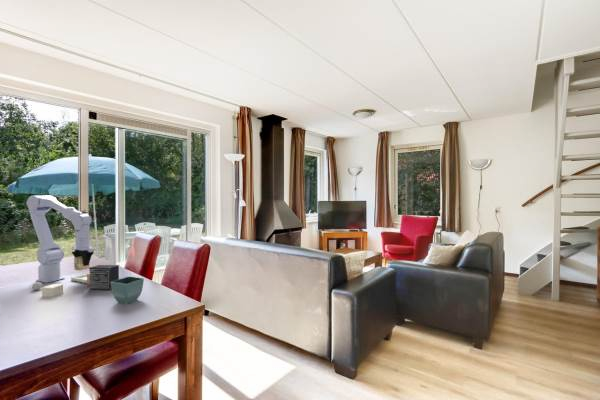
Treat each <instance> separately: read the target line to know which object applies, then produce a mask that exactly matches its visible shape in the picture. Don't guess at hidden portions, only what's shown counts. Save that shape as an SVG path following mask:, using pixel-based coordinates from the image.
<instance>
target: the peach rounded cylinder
mask: <svg viewBox="0 0 600 400" xmlns="http://www.w3.org/2000/svg"><path fill="white" fill-rule="evenodd" d="M88 273H89V274H87V273H86V274H87V284H86V285H87V286H90V272H88Z"/></svg>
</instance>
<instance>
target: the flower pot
mask: <svg viewBox="0 0 600 400" xmlns="http://www.w3.org/2000/svg"><path fill="white" fill-rule="evenodd" d="M144 280H145V278H143V277H136V276H126V277H121V278H119V280H115V281H112V282H111V288H112V289H111V293H112V296H113V298H114V299H115V301H116V302H117V303H121V304H126V305H127V304H130V303H132V302H133V303H134V302H136V301H137V300H138V299H139V297H140V296H141V294H142V291H143V286H144V282H145V281H144Z"/></svg>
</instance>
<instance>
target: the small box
mask: <svg viewBox="0 0 600 400" xmlns="http://www.w3.org/2000/svg"><path fill="white" fill-rule="evenodd" d="M119 267H120V265H119V264H97V265H94V266H90V268H88V269H89V273H90V285H89V290H90V291H91V290H92V291H112V288H111V282H112V281H115V280H119V279H120V271H119V270H120V268H119Z"/></svg>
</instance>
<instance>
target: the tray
mask: <svg viewBox="0 0 600 400" xmlns="http://www.w3.org/2000/svg"><path fill="white" fill-rule="evenodd" d="M89 273H90V272H88V273H84V274H79V275H76V276H71V277H70V279H71V280H70V281H71V282H75V281H77V282H76V283H80V282H82V283H83V284H86V283H87V274H89ZM82 283H81V284H82Z"/></svg>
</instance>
